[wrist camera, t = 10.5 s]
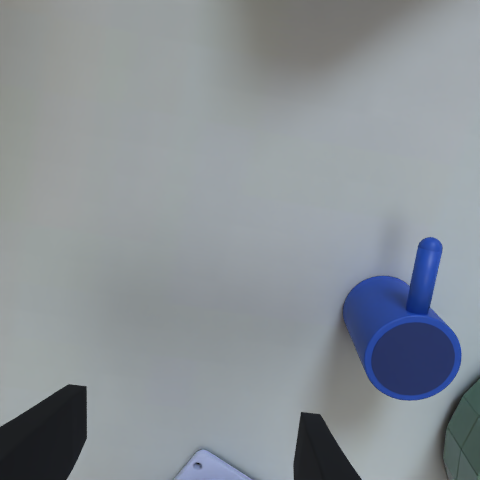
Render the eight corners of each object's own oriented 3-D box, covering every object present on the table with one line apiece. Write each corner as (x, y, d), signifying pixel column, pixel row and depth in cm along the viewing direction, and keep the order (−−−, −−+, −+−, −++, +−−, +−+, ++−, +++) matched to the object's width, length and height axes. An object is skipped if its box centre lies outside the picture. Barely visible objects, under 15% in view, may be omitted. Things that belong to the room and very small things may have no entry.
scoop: (410, 348, 22) (451, 406, 17) (337, 340, 22) (357, 395, 18) (438, 221, 21) (491, 246, 16) (358, 213, 21) (386, 236, 16)
